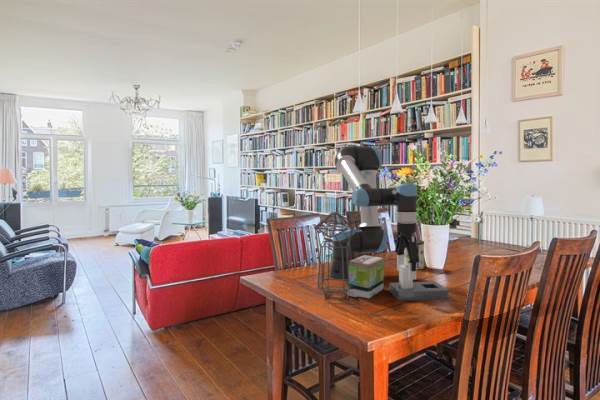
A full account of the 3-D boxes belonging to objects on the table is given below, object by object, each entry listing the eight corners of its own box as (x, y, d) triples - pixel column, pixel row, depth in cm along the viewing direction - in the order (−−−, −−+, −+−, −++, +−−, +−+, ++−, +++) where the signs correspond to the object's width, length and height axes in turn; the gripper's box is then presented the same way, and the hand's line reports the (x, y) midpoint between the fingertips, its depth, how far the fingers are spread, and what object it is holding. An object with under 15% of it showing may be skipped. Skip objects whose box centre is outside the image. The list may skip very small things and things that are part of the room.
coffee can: (405, 263, 209) (405, 238, 208) (424, 265, 205) (425, 240, 204) (402, 268, 200) (402, 241, 199) (422, 270, 195) (422, 243, 194)
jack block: (398, 303, 146) (398, 291, 146) (389, 293, 158) (389, 282, 158) (448, 301, 148) (448, 290, 147) (435, 291, 160) (435, 281, 159)
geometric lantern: (356, 290, 162) (356, 209, 158) (351, 303, 147) (351, 214, 143) (320, 288, 166) (319, 209, 162) (312, 300, 151) (311, 214, 147)
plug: (402, 297, 150) (402, 266, 149) (398, 293, 154) (399, 263, 154) (412, 296, 151) (413, 265, 150) (408, 293, 155) (409, 263, 154)
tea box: (369, 301, 149) (370, 264, 148) (346, 296, 155) (347, 260, 153) (384, 291, 161) (384, 257, 160) (362, 286, 167) (363, 253, 166)
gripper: (428, 226, 138) (428, 282, 140) (404, 218, 163) (404, 266, 164) (408, 226, 138) (408, 283, 139) (387, 218, 163) (387, 267, 164)
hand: (406, 274), depth 152 cm, fingers open, 13 cm apart
